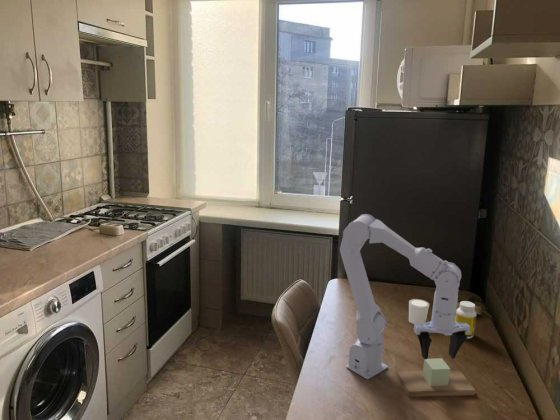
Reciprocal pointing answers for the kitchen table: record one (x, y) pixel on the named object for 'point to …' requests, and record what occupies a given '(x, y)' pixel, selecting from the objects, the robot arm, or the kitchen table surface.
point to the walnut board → (420, 387)
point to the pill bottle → (467, 316)
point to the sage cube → (436, 372)
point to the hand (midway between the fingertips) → (438, 356)
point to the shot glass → (418, 311)
